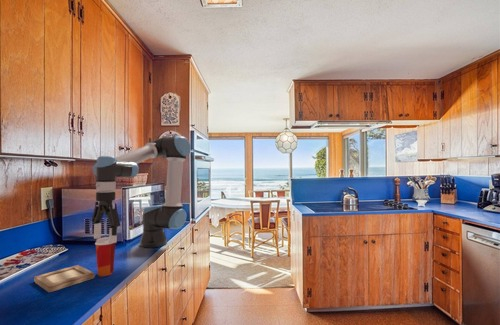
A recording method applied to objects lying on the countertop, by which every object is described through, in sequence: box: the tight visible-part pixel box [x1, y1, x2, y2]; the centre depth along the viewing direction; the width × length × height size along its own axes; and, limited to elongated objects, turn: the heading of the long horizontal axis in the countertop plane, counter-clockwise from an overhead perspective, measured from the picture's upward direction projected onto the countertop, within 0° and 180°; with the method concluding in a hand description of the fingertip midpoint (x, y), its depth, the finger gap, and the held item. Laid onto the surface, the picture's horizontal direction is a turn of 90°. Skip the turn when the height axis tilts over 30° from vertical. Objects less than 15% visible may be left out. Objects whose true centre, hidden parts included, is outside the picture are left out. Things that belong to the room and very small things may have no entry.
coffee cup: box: [94, 236, 116, 277], centre depth 117 cm, size 8×8×15 cm
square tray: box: [33, 264, 95, 293], centre depth 111 cm, size 16×16×2 cm
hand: (104, 240), depth 117 cm, fingers open, 13 cm apart
